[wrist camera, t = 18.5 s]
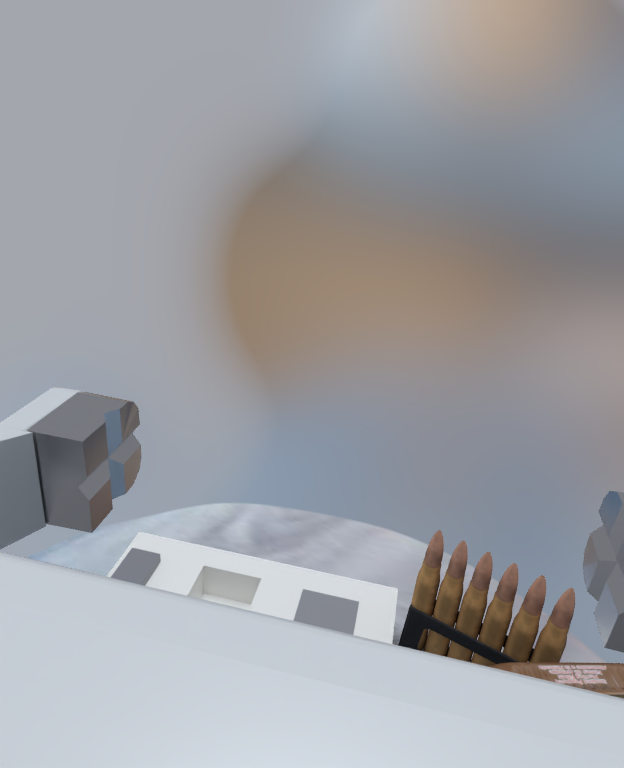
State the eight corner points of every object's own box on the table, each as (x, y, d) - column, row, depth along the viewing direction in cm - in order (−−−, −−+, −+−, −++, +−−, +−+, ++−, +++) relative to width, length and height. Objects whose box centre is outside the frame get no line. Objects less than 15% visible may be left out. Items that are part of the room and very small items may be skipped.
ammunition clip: (396, 652, 45) (421, 532, 40) (405, 636, 46) (431, 518, 41) (535, 730, 40) (585, 605, 35) (541, 709, 41) (590, 586, 36)
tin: (439, 789, 36) (466, 701, 32) (428, 739, 39) (451, 653, 35) (667, 791, 37) (718, 705, 33) (640, 742, 40) (684, 659, 36)
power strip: (390, 624, 47) (399, 581, 45) (379, 728, 39) (389, 681, 37) (141, 567, 50) (139, 524, 48) (84, 651, 42) (78, 604, 40)
